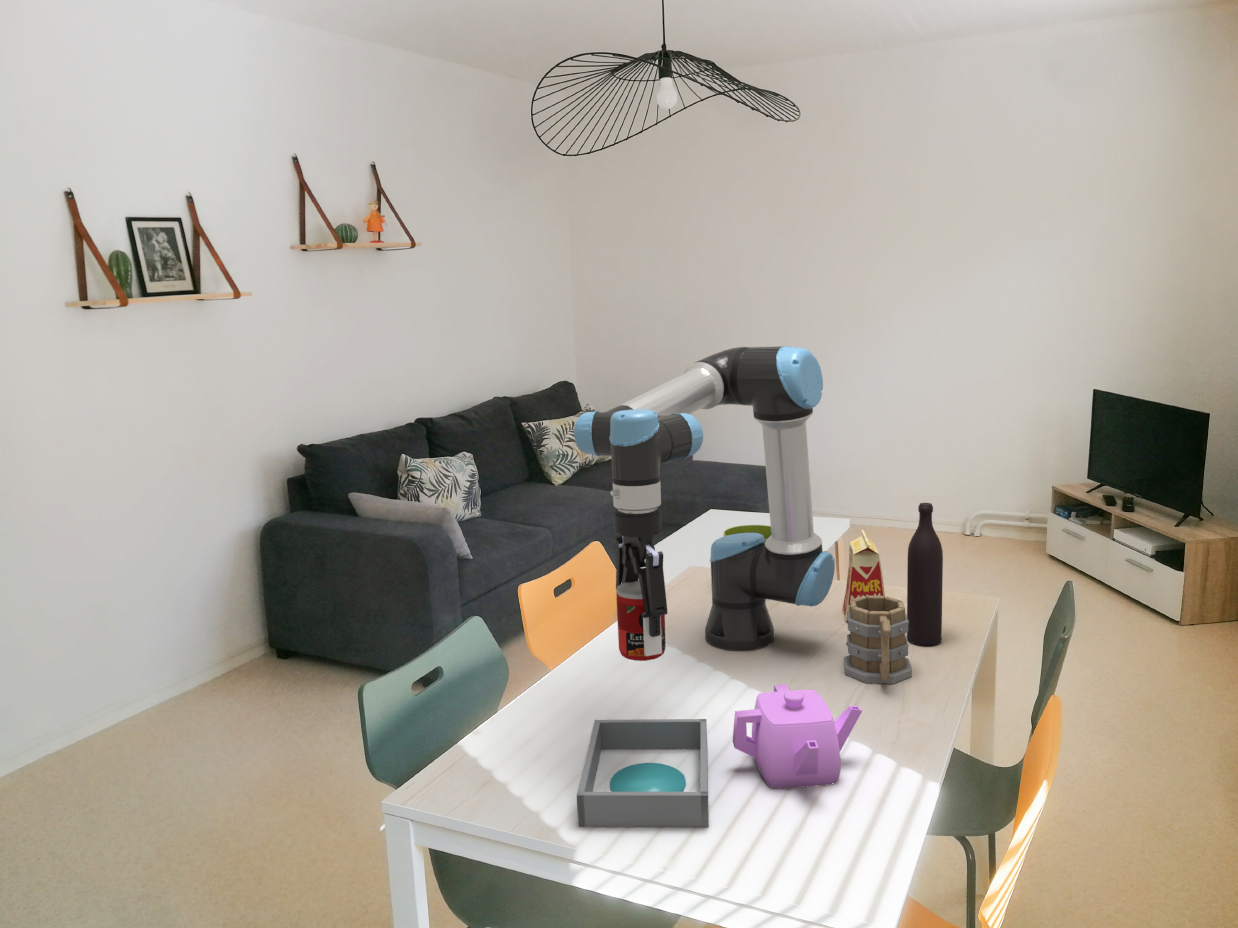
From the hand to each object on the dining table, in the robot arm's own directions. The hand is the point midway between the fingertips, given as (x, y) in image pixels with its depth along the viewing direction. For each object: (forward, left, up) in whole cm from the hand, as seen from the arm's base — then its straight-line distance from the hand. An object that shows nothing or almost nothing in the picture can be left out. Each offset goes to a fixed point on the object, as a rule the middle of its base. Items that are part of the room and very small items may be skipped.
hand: (642, 644), depth 151 cm
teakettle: (+2, +25, -21) cm, 32 cm away
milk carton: (-66, +46, -20) cm, 83 cm away
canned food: (0, 0, -1) cm, 1 cm away
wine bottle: (-51, +56, -20) cm, 78 cm away
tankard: (-32, +43, -20) cm, 57 cm away
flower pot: (-84, +22, -20) cm, 89 cm away
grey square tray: (+7, 0, -20) cm, 22 cm away
